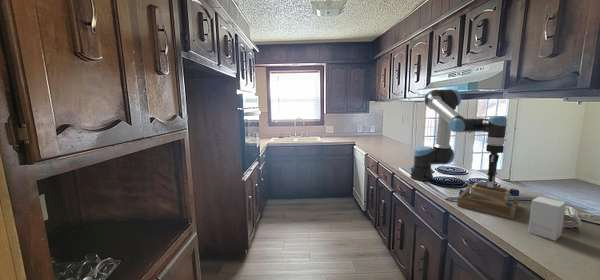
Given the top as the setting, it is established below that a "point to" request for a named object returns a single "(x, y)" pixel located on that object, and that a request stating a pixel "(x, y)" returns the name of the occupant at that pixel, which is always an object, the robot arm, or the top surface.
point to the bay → (487, 205)
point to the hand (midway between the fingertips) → (490, 186)
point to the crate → (490, 193)
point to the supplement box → (547, 217)
